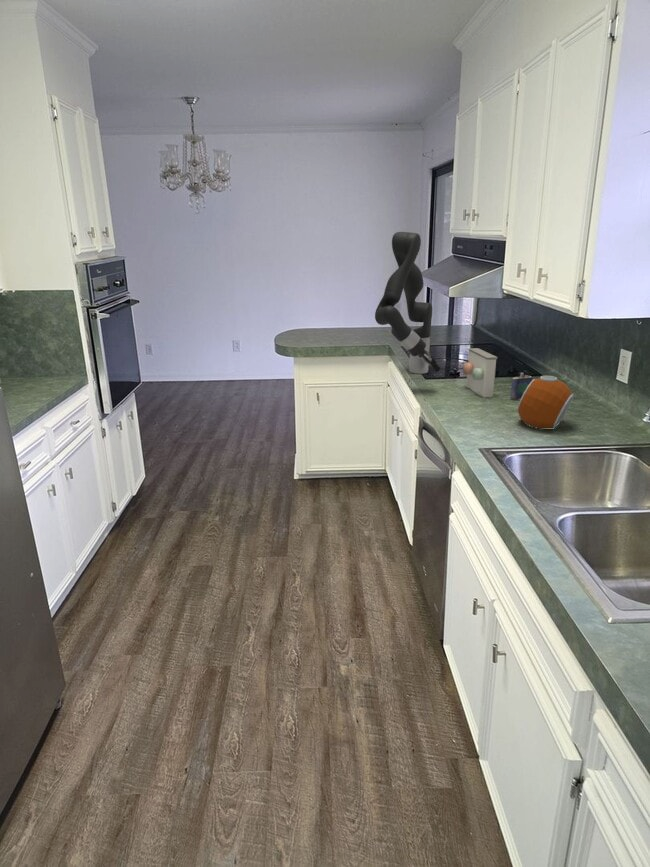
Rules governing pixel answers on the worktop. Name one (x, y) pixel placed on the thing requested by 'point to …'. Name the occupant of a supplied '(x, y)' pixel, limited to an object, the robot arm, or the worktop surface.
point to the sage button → (477, 373)
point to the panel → (488, 366)
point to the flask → (519, 386)
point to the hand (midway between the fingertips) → (438, 370)
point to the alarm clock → (544, 402)
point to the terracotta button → (467, 368)
